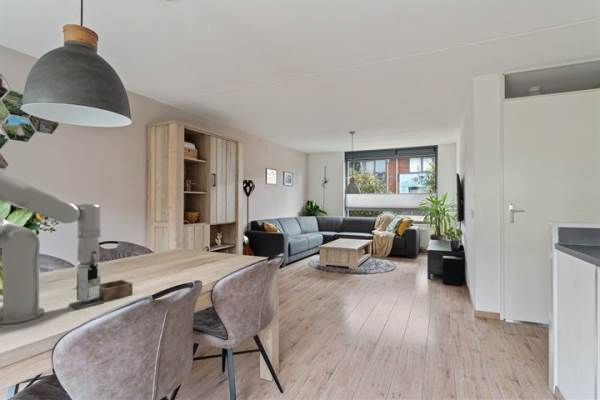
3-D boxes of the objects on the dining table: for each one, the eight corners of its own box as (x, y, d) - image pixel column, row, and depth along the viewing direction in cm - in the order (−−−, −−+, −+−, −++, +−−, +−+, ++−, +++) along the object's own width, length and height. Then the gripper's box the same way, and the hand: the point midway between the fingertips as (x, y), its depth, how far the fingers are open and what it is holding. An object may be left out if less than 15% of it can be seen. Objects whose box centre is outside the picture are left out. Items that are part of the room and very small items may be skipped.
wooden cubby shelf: (104, 301, 123) (104, 289, 123) (94, 296, 129) (94, 285, 129) (132, 294, 131) (132, 283, 131) (121, 290, 138) (121, 279, 138)
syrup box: (90, 296, 124) (90, 261, 124) (100, 297, 122) (100, 262, 122) (76, 300, 118) (76, 264, 118) (87, 301, 117) (87, 265, 117)
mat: (77, 309, 113) (77, 308, 113) (69, 304, 119) (69, 303, 119) (103, 303, 121) (103, 301, 121) (95, 298, 126) (95, 297, 126)
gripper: (70, 233, 123) (70, 276, 123) (86, 236, 112) (85, 283, 112) (91, 231, 129) (91, 272, 129) (108, 234, 118) (108, 279, 118)
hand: (89, 277), depth 120 cm, fingers closed on syrup box, 7 cm apart
